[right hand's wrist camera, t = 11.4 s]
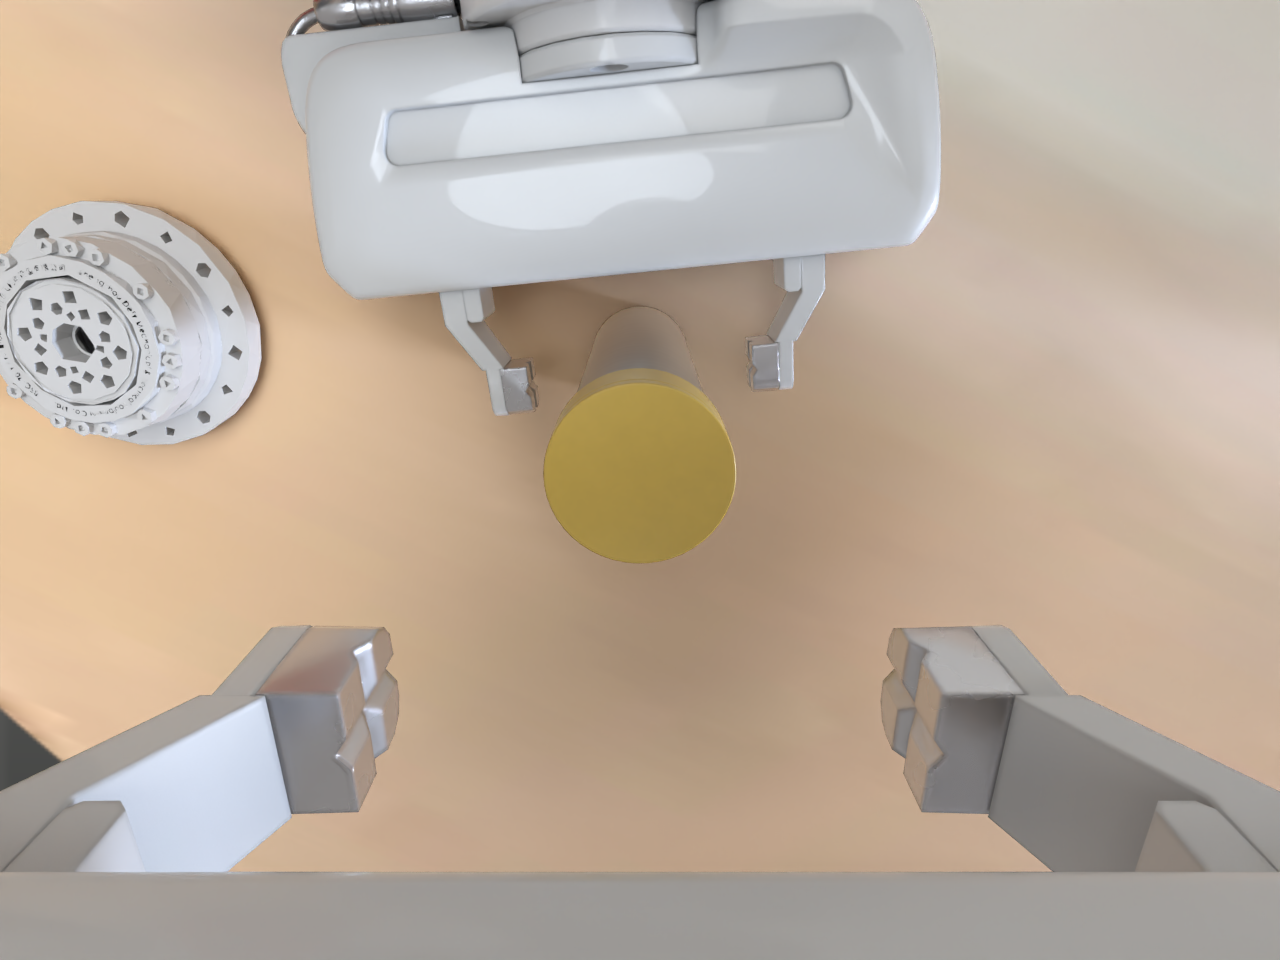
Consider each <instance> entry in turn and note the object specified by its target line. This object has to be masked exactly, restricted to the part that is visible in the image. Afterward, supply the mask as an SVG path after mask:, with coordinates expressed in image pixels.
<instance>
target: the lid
mask: <svg viewBox="0 0 1280 960" xmlns="http://www.w3.org/2000/svg"><path fill="white" fill-rule="evenodd" d="M543 477H544V487H545V491H546V496H547V499H548V502H549V504H550V507H551V509H552V511H553V513H554V515H555V517H556V518H557V520H558V521H559V523H560V524H561V525H562V527H563V528H564V529H565V530H566V531H567V532H568V533H569V535H570V536H571V537H572V538H574V539H575V540H576V541H577V542H579V543H580V544H581V545H583V546H584V547H586V548H587V549H589V550H590V551H592V552H594V553H596V554H599V555H601V556H603V557H606V558H609V559H612V560H616V561H621V562H627V563H652V562H659V561H663V560H667V559H671V558H674V557H676V556H679V555H681V554H684V553H685V552H687V551H689V550H691V549H693V548H694V547H696V546H697V545H698V544H700V543H701V542H703V541H704V540H705V539H706V538H707V537H708V536H709V535H710V534H711V533H712V532H713V531H714V530H715V529H716V528H717V526H718V525H719V524H720V522H721V521H722V519H723V518H724V516H725V514H726V513H727V510H728V508H729V506H730V504H731V501H732V498H733V494H734V490H735V484H736V462H735V455H734V452H733V448H732V444H731V442H730V439H729V437H728V434H727V431H726V429H725V426H724V424H723V421H722V419H721V417H720V415H719V413H718V411H717V410H716V408H715V406H714V405H713V404H712V403H711V401H710V400H709V399H708V398H707V396H706V395H704V394H703V393H702V392H701V391H700V390H699V389H698V388H697V387H695V386H694V385H692V384H691V383H690V382H688V381H686V380H684V379H682V378H681V377H679V376H676V375H674V374H671V373H668V372H665V371H660V370H656V369H647V368H630V369H624V370H618V371H615V372H612V373H608V374H606V375H604V376H601V377H599V378H597V379H595V380H594V381H592V382H590V383H589V384H587V385H586V386H584V387H583V388H582V389H581V390H580V391H578V392H577V393H576V394H575V395H574V396H573V397H572V399H571V400H570V401H569V402H568V403H567V405H566V406H565V408H564V409H563V411H562V413H561V414H560V416H559V418H558V420H557V423H556V425H555V428H554V431H553V433H552V436H551V438H550V441H549V444H548V447H547V450H546V454H545V459H544V470H543Z"/></svg>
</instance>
